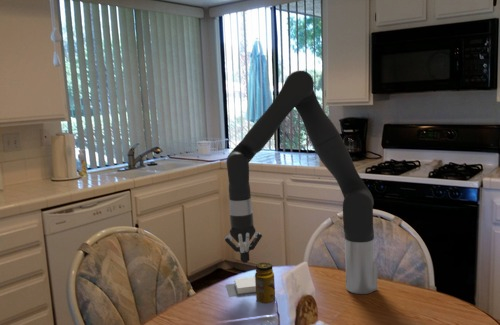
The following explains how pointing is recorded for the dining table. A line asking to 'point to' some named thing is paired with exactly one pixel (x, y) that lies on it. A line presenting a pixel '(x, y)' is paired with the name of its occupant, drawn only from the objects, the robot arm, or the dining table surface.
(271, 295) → the condiment
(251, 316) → the dining table surface
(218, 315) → the dining table surface
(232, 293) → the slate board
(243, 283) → the tile
